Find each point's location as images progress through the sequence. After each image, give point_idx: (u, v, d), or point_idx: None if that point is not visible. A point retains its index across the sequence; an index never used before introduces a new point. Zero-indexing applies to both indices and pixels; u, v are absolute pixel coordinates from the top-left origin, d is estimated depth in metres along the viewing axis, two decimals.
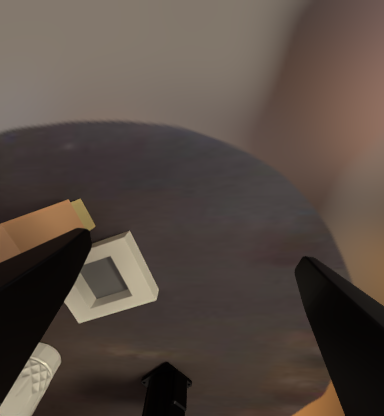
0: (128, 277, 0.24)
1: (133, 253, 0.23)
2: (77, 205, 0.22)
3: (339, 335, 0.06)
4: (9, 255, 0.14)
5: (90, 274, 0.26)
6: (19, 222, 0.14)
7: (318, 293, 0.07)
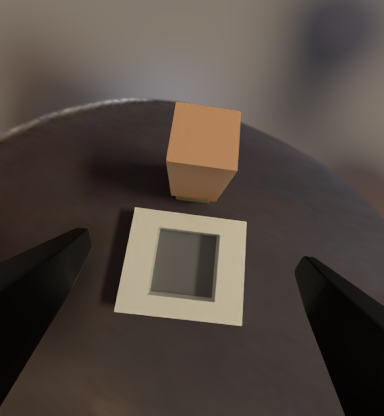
0: (224, 272, 0.18)
1: (244, 245, 0.19)
2: None
3: (339, 335, 0.06)
4: (225, 137, 0.13)
5: (167, 252, 0.20)
6: None
7: (318, 293, 0.07)
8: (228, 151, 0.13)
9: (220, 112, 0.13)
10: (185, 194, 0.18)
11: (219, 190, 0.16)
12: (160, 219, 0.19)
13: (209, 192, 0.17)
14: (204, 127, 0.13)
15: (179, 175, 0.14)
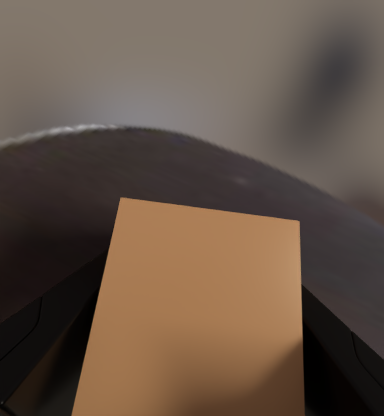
0: None
1: None
2: None
3: None
4: (260, 314, 0.04)
5: None
6: None
7: None
8: (273, 368, 0.04)
9: (243, 226, 0.05)
10: None
11: None
12: None
13: None
14: (200, 282, 0.04)
15: None
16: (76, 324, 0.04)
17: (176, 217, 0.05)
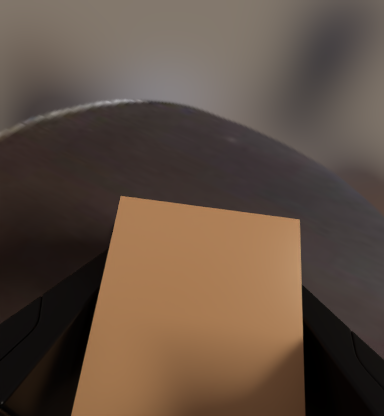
0: None
1: None
2: None
3: None
4: (261, 313, 0.04)
5: None
6: None
7: None
8: (273, 367, 0.04)
9: (243, 225, 0.05)
10: None
11: None
12: None
13: None
14: (200, 281, 0.04)
15: None
16: (76, 324, 0.04)
17: (176, 215, 0.05)
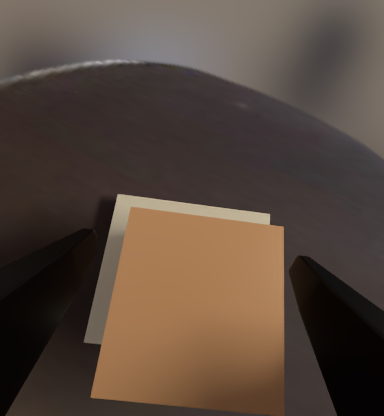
0: None
1: None
2: None
3: (331, 334, 0.06)
4: (249, 306, 0.05)
5: None
6: None
7: (311, 292, 0.07)
8: (258, 350, 0.05)
9: (234, 231, 0.06)
10: None
11: None
12: None
13: None
14: (198, 279, 0.05)
15: None
16: None
17: (178, 223, 0.06)
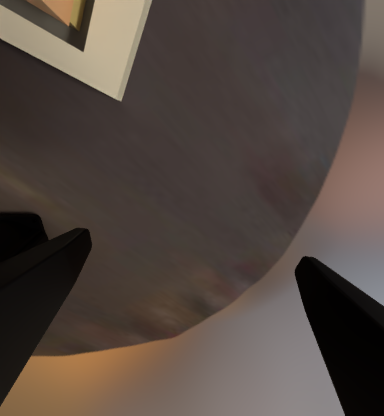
0: (106, 10, 0.12)
1: None
2: None
3: (339, 335, 0.06)
4: None
5: None
6: None
7: (318, 293, 0.07)
8: None
9: None
10: None
11: None
12: None
13: None
14: None
15: None
16: None
17: None
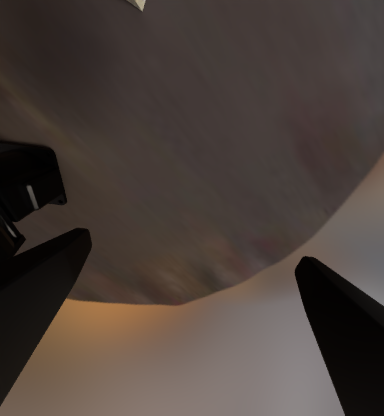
0: None
1: None
2: None
3: (339, 335, 0.06)
4: None
5: None
6: None
7: (318, 293, 0.07)
8: None
9: None
10: None
11: None
12: None
13: None
14: None
15: None
16: None
17: None
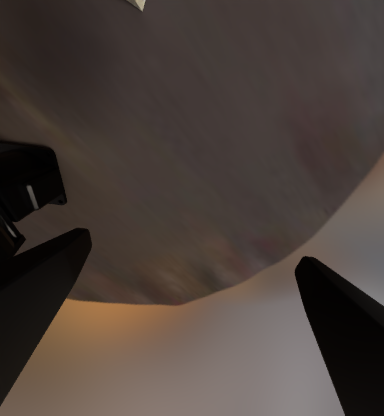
0: None
1: None
2: None
3: (339, 335, 0.06)
4: None
5: None
6: None
7: (318, 293, 0.07)
8: None
9: None
10: None
11: None
12: None
13: None
14: None
15: None
16: None
17: None
